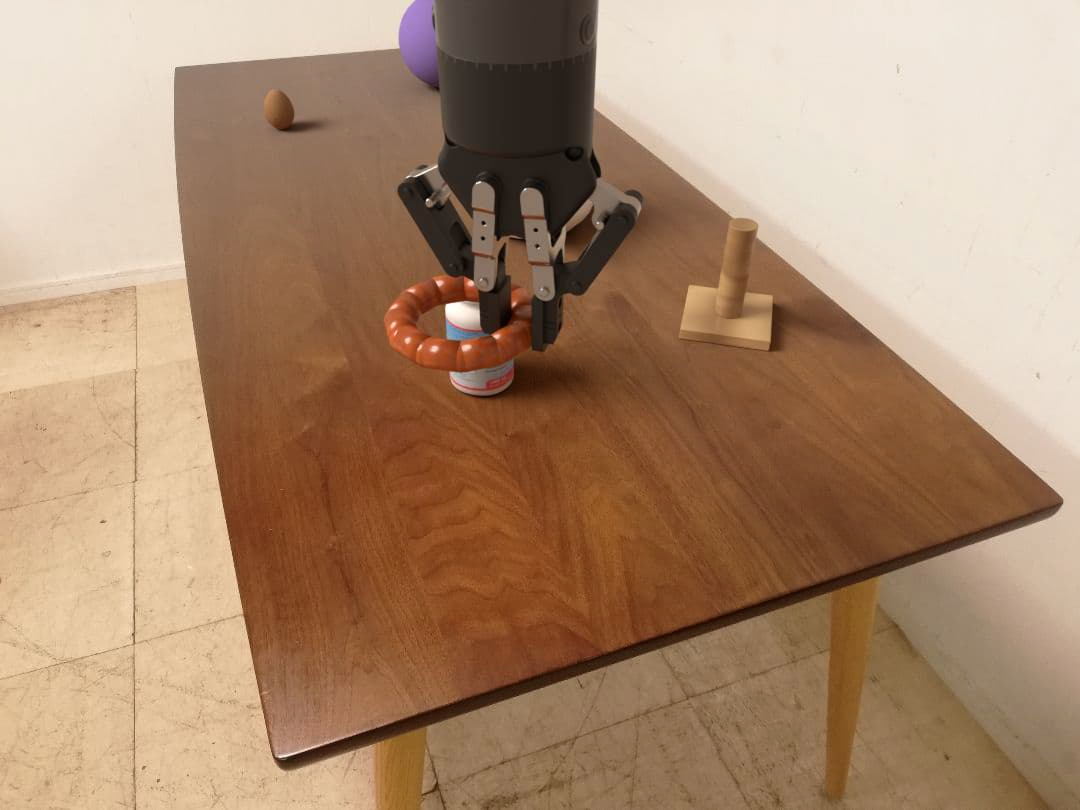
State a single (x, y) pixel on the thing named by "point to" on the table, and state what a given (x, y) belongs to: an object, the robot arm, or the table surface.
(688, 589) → the table surface
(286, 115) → the egg
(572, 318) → the table surface
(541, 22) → the robot arm
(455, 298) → the ring
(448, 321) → the pill bottle
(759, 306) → the post
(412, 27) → the decorative ball
